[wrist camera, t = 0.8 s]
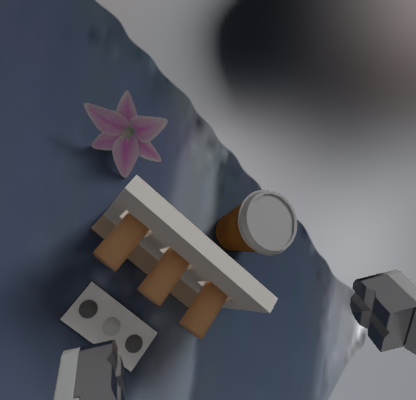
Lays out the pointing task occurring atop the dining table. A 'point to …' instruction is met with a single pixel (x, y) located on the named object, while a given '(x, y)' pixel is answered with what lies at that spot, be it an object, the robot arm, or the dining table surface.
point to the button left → (121, 242)
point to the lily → (125, 133)
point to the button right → (203, 310)
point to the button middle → (163, 277)
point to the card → (109, 324)
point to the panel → (183, 250)
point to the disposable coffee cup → (258, 224)
